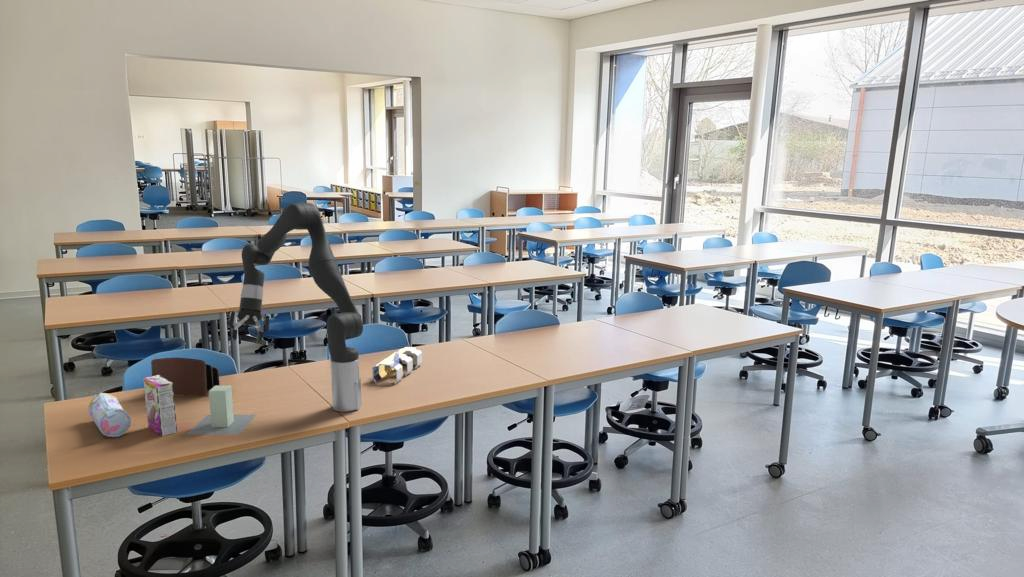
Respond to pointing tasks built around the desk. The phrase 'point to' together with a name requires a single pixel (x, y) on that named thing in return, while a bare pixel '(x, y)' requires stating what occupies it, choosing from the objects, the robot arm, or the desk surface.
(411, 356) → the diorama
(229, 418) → the green block
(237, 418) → the gray tile
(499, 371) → the desk surface
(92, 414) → the pencil case
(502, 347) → the desk surface
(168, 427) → the candy bar box
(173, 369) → the letter holder
